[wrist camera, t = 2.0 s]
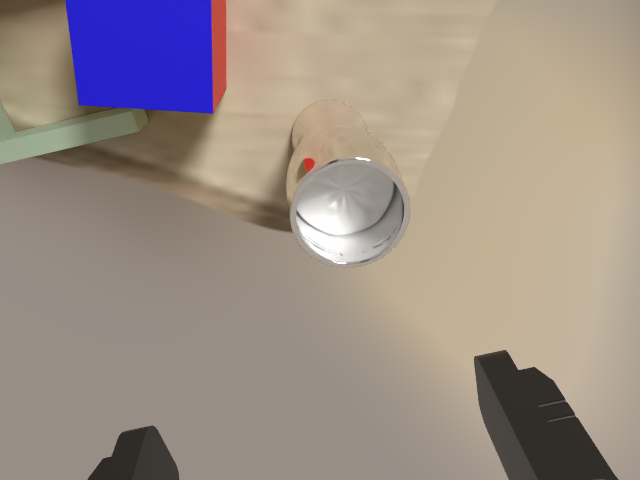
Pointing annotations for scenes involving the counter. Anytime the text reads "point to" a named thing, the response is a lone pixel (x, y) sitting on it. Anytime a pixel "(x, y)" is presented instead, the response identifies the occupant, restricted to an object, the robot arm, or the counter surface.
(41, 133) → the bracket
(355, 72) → the counter surface
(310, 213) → the beer glass
